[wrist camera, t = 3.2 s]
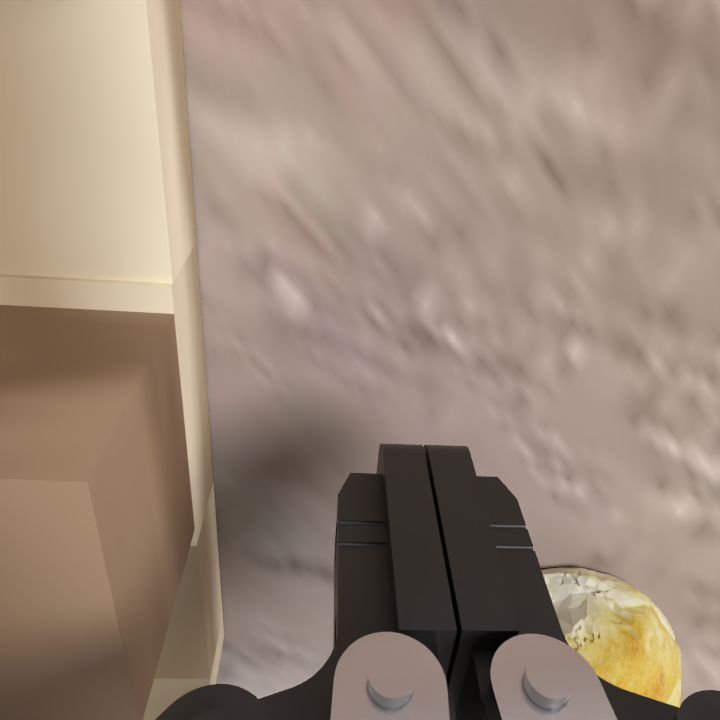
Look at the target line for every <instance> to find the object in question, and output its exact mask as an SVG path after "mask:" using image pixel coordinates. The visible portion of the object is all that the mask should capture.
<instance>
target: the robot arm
mask: <svg viewBox="0 0 720 720" xmlns="http://www.w3.org/2000/svg"><path fill="white" fill-rule="evenodd" d="M525 525H526V524H525V521H524V518H523V515H522V512H521V510H520V507H519V504H518V501H517V499H516V497H515V496H514V495H513V494H512V493H511V492H510V491H509V490H508V488H507V487H506V486H505V485H504V484H503V483H502V482H501V480H500V479H499V478H498V477H481V476H476V473H475V469H474V465H473V462H472V458H471V455H470V451H469V449H468V447H466V446H443V445H424V447H423V446H422V445H404V444H380V448H379V456H378V466H377V474H365V473H350V475H349V476H348V478H347V480H346V482H345V483H344V485H343V487H342V489H341V490H340V492H339V494H338V504H337V521H336V538H335V555H334V649H333V651H332V653H331V656H330V657H329V659H328V660H327V662H326V663H325V665H324V666H323V667H322V668H321V669H320V670H319V671H318V672H317V673H316V674H315V675H314V676H312V677H311V678H310V679H308V680H307V681H305V682H303V683H302V684H300V685H297V686H295V687H293V688H290V689H287V690H284V691H281V692H278V693H275V694H272V695H269V696H267V697H264V698H261V699H258V698H257V697H256V696H254V695H253V694H251V693H250V692H249V691H247V690H245V689H242V688H240V687H238V686H233V685H229V684H213V685H206V686H203V687H199V688H196V689H194V690H192V691H190V692H188V693H186V694H184V695H183V696H181V697H180V698H178V699H177V700H176V701H174V702H173V703H172V704H171V705H170V706H169V707H168V708H167V709H166V710H165V711H164V712H162V713H161V714H160V715H159V716H158V717H157V718H156V719H155V720H720V691H715V690H705V691H700V692H696V693H694V694H692V695H690V696H688V697H687V698H686V699H685V700H684V701H683V702H682V704H681V706H680V707H676V706H673V705H670V704H667V703H664V702H661V701H657V700H654V699H651V698H648V697H645V696H642V695H639V694H636V693H633V692H630V691H627V690H624V689H622V688H619V687H617V686H615V685H613V684H611V683H609V682H607V681H605V680H604V679H602V678H601V677H599V676H598V675H596V673H595V671H594V670H593V668H592V667H591V665H590V664H589V663H588V662H587V661H586V660H585V659H584V657H583V656H582V655H581V654H579V653H578V652H577V651H576V650H575V649H573V648H572V647H570V646H569V644H568V643H567V641H566V639H565V636H564V634H563V632H562V629H561V626H560V623H559V620H558V617H557V614H556V611H555V609H554V606H553V603H552V600H551V597H550V594H549V591H548V588H547V585H546V582H545V579H544V577H543V574H542V571H541V568H540V565H539V562H538V559H537V556H536V553H535V551H533V544H532V542H531V539H530V536H529V533H528V530H527V529H526V528H525Z"/></svg>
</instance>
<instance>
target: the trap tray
mask: <svg viewBox="0 0 720 720" xmlns="http://www.w3.org/2000/svg"><path fill="white" fill-rule="evenodd" d="M0 305H14V306H33V307H52V308H71V309H91V310H110V311H129V312H148V313H167V314H174V319H175V329H176V340H177V350H178V360H179V371H180V381H181V392H182V402H183V412H184V423H185V433H186V443H187V454H188V464H189V475H190V485H191V495H192V506H193V516H194V526H195V530H194V534H193V538H192V541H191V545H190V549H189V552H188V556H187V560H186V563H185V567H184V571H183V574H182V578H181V582H180V585H179V589H178V593H177V596H176V600H175V604H174V607H173V611H172V615H171V618H170V622H169V626H168V629H167V633H166V637H165V640H164V644H163V648H162V651H161V655H160V659H159V662H158V666H157V670H156V673H155V677H154V681H153V685H152V688H151V692H150V696H149V699H148V703H147V707H146V710H145V714H144V718H143V720H155V719H156V718H157V717H158V716H159V715H160V714H161V713H162V712H164V711H165V710H166V709H167V708H168V707H169V706H170V705H171V704H172V703H173V702H174V701H176V700H177V699H178V698H180V697H181V696H183V695H184V694H186V693H188V692H190V691H192V690H194V689H196V688H199V687H203V686H206V685H213V684H216V679H217V673H218V668H219V662H220V657H221V651H222V646H223V640H224V624H223V610H222V596H221V581H220V567H219V553H218V538H217V524H216V510H215V496H214V481H213V467H212V453H211V438H210V424H209V410H208V396H207V381H206V367H205V353H204V338H203V324H202V310H201V296H200V281H199V267H198V253H197V238H196V224H195V210H194V196H193V181H192V167H191V153H190V138H189V124H188V110H187V96H186V81H185V67H184V53H183V38H182V24H181V10H180V0H0Z"/></svg>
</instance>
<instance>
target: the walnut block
mask: <svg viewBox="0 0 720 720" xmlns="http://www.w3.org/2000/svg"><path fill="white" fill-rule="evenodd" d="M194 530H195V526H194V516H193V506H192V495H191V485H190V475H189V464H188V454H187V443H186V433H185V423H184V412H183V402H182V392H181V381H180V371H179V360H178V350H177V340H176V329H175V319H174V314H167V313H148V312H129V311H110V310H91V309H71V308H52V307H33V306H14V305H0V720H143V718H144V714H145V710H146V707H147V703H148V699H149V696H150V692H151V688H152V685H153V681H154V677H155V673H156V670H157V666H158V662H159V659H160V655H161V651H162V648H163V644H164V640H165V637H166V633H167V629H168V626H169V622H170V618H171V615H172V611H173V607H174V604H175V600H176V596H177V593H178V589H179V585H180V582H181V578H182V574H183V571H184V567H185V563H186V560H187V556H188V552H189V549H190V545H191V541H192V538H193V534H194Z"/></svg>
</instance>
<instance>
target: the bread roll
mask: <svg viewBox="0 0 720 720" xmlns="http://www.w3.org/2000/svg"><path fill="white" fill-rule="evenodd" d="M541 571H542V574H543V577H544V579H545V582H546V585H547V588H548V591H549V594H550V597H551V600H552V603H553V606H554V609H555V611H556V614H557V617H558V620H559V623H560V626H561V629H562V632H563V634H564V636H565V639H566V641H567V643H568V644H569V646H570V647H572V648H573V649H575V650H576V651H577V652H578V653H579V654H581V655H582V656H583V657H584V659H585V660H586V661H587V662H588V663H589V664H590V665H591V667H592V668H593V670H594V671H595V673H596V675H598V676H599V677H601V678H602V679H604V680H605V681H607V682H609V683H611V684H613V685H615V686H617V687H619V688H622V689H624V690H627V691H630V692H633V693H636V694H639V695H642V696H645V697H648V698H651V699H654V700H657V701H661V702H664V703H667V704H670V705H673V706H676V707H680V700H681V652H680V649H679V646H678V644H677V643H676V642H675V635H674V632H673V630H672V628H671V626H670V624H669V622H668V621H667V619H666V617H665V616H664V614H663V613H662V611H661V610H660V608H659V607H658V606H657V605H656V604H655V603H653V602H652V601H651V600H650V599H649V598H648V597H647V596H646V595H645V594H644V593H642V592H641V591H640V590H639V589H637V588H636V587H634V586H632V585H630V584H628V583H626V582H624V581H622V580H620V579H618V578H616V577H614V576H612V575H609V574H604V573H599V572H596V571H592V570H589V569H585V568H551V569H542V570H541Z"/></svg>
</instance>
